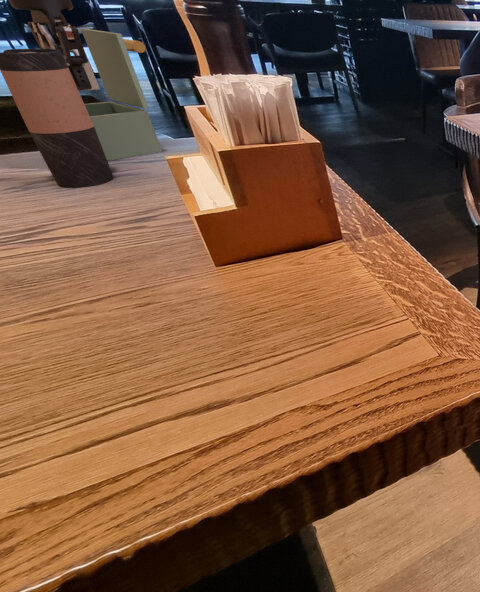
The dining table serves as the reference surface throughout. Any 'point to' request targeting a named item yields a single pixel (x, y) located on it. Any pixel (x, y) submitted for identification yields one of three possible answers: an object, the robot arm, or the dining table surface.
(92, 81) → the block
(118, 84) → the lid
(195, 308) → the dining table surface
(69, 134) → the travel mug
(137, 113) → the chest
